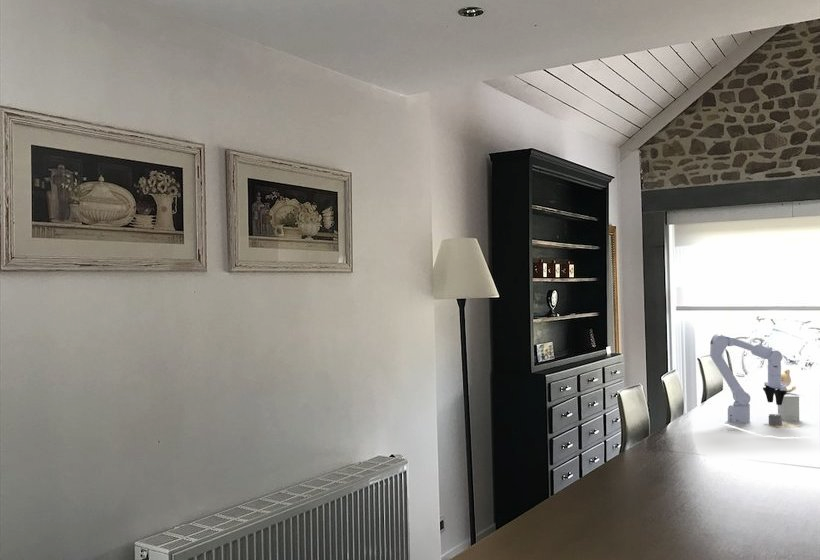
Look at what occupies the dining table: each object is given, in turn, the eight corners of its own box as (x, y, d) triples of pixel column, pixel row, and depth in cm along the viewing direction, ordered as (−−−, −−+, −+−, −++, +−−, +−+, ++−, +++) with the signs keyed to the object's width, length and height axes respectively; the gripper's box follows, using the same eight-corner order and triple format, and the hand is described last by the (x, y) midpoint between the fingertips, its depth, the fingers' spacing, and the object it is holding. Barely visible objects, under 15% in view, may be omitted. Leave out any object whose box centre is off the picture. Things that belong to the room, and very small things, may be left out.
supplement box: (799, 422, 366) (799, 396, 366) (784, 422, 366) (784, 396, 366) (792, 419, 374) (792, 394, 374) (777, 419, 374) (777, 394, 374)
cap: (767, 424, 357) (767, 414, 357) (772, 423, 360) (772, 413, 360) (778, 426, 353) (778, 416, 353) (783, 424, 356) (783, 415, 356)
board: (776, 430, 348) (776, 427, 348) (763, 426, 358) (763, 423, 358) (802, 429, 351) (802, 426, 351) (788, 424, 361) (788, 422, 361)
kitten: (764, 392, 466) (764, 367, 466) (778, 391, 469) (777, 366, 469) (783, 395, 452) (783, 370, 452) (797, 394, 455) (796, 369, 455)
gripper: (791, 376, 356) (791, 405, 356) (774, 373, 370) (774, 400, 370) (776, 377, 355) (776, 406, 355) (760, 373, 369) (760, 401, 369)
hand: (774, 403), depth 362 cm, fingers open, 7 cm apart
